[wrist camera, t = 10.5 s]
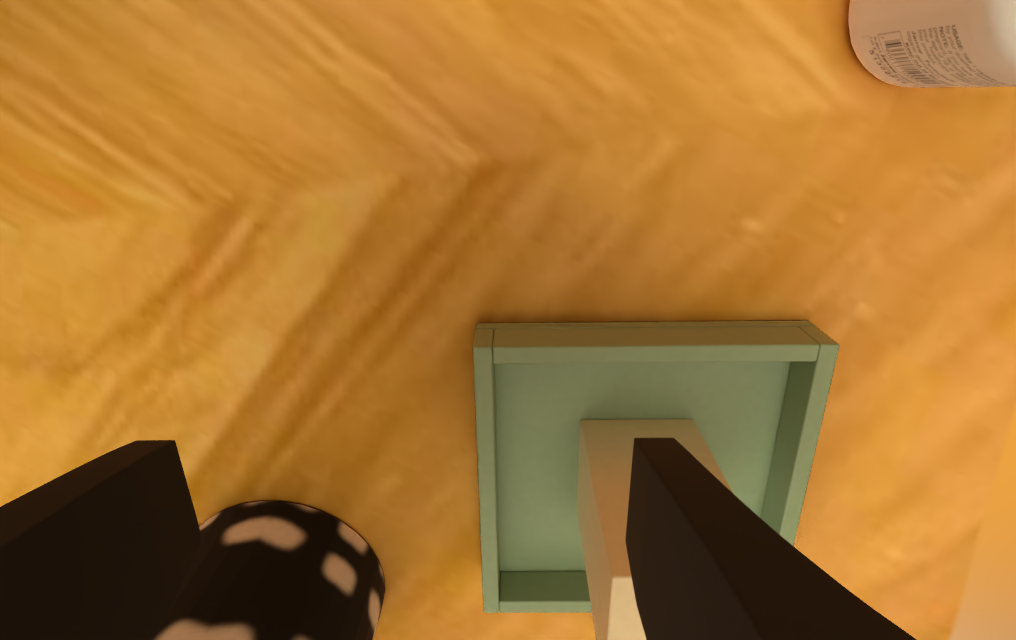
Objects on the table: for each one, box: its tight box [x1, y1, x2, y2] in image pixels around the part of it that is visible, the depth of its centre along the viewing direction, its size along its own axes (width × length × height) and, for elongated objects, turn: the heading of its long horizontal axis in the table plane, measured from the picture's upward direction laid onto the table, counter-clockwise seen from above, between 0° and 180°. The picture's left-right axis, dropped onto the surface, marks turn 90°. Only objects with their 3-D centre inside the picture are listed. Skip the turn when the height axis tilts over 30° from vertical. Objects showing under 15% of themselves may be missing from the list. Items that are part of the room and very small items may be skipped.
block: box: [577, 419, 734, 640], centre depth 17 cm, size 4×4×7 cm
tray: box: [473, 320, 839, 613], centre depth 20 cm, size 11×11×2 cm
